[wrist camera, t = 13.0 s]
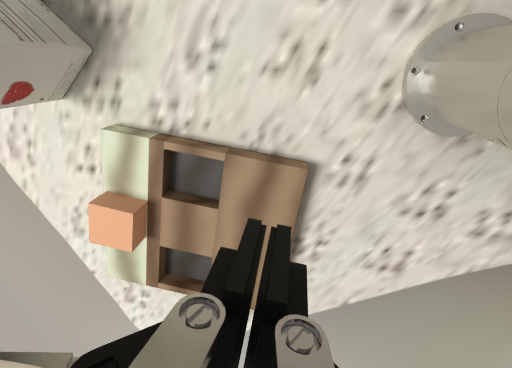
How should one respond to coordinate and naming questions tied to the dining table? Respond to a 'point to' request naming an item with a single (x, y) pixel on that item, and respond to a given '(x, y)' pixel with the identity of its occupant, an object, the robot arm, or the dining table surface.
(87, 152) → the dining table surface
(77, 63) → the supplement box
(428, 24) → the dining table surface
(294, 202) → the board
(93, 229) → the terracotta block
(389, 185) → the dining table surface
